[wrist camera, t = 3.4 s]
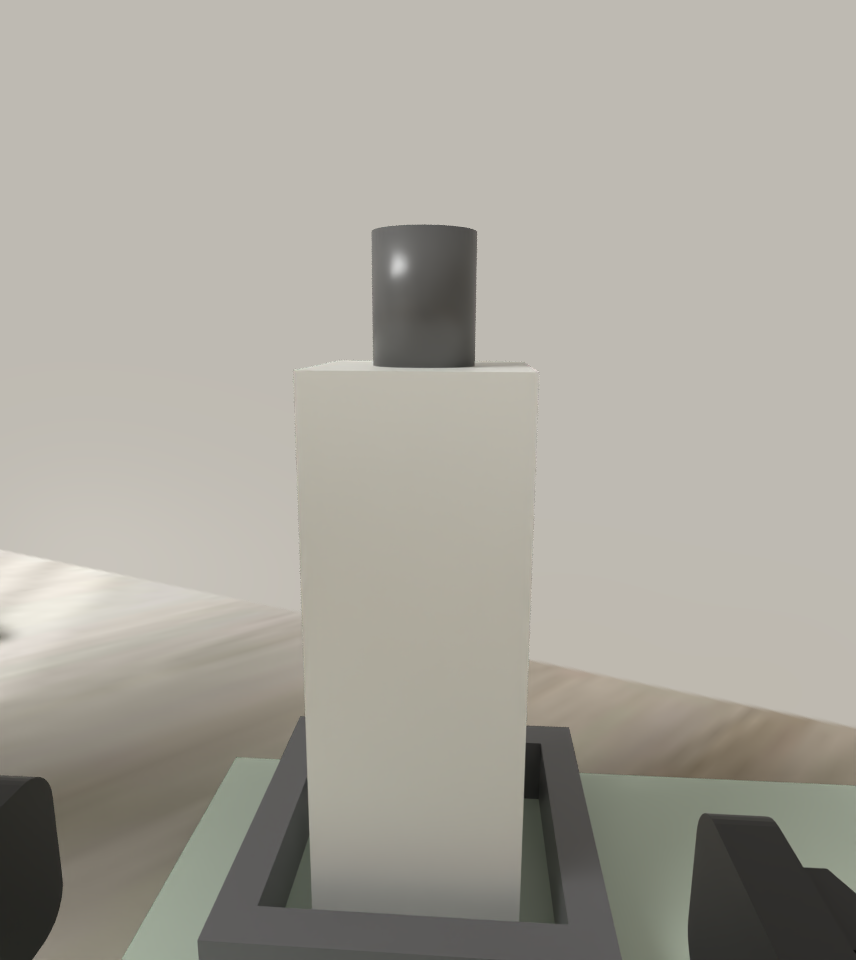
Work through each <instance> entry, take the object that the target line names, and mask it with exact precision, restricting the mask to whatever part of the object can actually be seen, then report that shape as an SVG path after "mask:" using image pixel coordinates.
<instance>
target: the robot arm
mask: <svg viewBox="0 0 856 960" xmlns="http://www.w3.org/2000/svg"><path fill="white" fill-rule="evenodd" d="M62 888H63V882H62V872H61V863H60V855H59V847H58V838H57V830H56V822H55V813H54V805H53V797H52V791H51V788H50V785H49V784H48V782H47V781H46V780H45V779H43V778H41V777H23V776H3V775H0V960H32V959H33V958H34V956H35V955H36V953H37V952H38V951H39V949H40V948H41V946H42V945H43V944H44V942H45V940H46V939H47V937H48V935H49V933H50V932H51V930H52V927H53V925H54V923H55V920H56V917H57V914H58V911H59V907H60V903H61V898H62ZM688 946H689V956H690V960H856V893H855V892H854V891H853V890H852V889H850V888H849V887H848V886H847V885H846V884H845V883H843V882H842V881H841V880H840V879H839V878H838V877H836V876H835V875H834V874H833V873H832V872H831V871H829V870H828V869H826V868H808V867H803V866H802V864H801V862H800V861H799V859H798V857H797V856H796V854H795V853H794V851H793V849H792V848H791V846H790V844H789V843H788V841H787V839H786V838H785V836H784V834H783V833H782V831H781V829H780V828H779V826H778V825H777V823H776V822H775V821H774V820H773V819H772V818H770V817H767V816H750V815H730V814H710V813H704V814H702V815H701V816H700V818H699V821H698V825H697V833H696V843H695V853H694V864H693V874H692V884H691V895H690V905H689V915H688Z"/></svg>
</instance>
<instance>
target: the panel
mask: <svg viewBox="0 0 856 960" xmlns="http://www.w3.org/2000/svg"><path fill="white" fill-rule="evenodd" d="M704 813H710V814H730V815H750V816H767V817H770V818H772V819H773V820H774V821H775V822H776V823H777V825H778V826H779V828H780V829H781V831H782V833H783V834H784V836H785V838H786V839H787V841H788V843H789V844H790V846H791V848H792V849H793V851H794V853H795V854H796V856H797V857H798V859H799V861H800V862H801V864H802V866H803V867H808V868H826V869H828V870H829V871H831V872H832V873H833V874H834V875H835V876H836V877H838V878H839V879H840V880H841V881H842V882H843V883H845V884H846V885H847V886H848V887H849V888H850V889H852V890H853V891H854V892H855V893H856V786H854V785H833V784H811V783H789V782H767V781H745V780H723V779H701V778H679V777H657V776H636V775H614V774H592V773H579V769H578V765H577V761H576V756H575V752H574V747H573V743H572V739H571V734H570V730H569V727H545V726H526V748H525V775H524V803H523V830H522V857H521V885H520V912H519V922H516V921H499V920H483V919H466V918H449V917H433V916H416V915H399V914H383V913H366V912H349V911H333V910H316V909H312V893H311V864H310V836H309V807H308V779H307V750H306V722H305V717H304V716H300V718H299V721H298V723H297V725H296V727H295V729H294V731H293V734H292V736H291V738H290V740H289V742H288V744H287V747H286V749H285V751H284V753H283V755H282V757H281V759H263V758H241V757H236V759H235V760H234V762H233V764H232V766H231V767H230V769H229V771H228V773H227V774H226V776H225V778H224V780H223V781H222V783H221V785H220V787H219V788H218V790H217V792H216V794H215V796H214V797H213V799H212V801H211V803H210V804H209V806H208V808H207V810H206V811H205V813H204V815H203V817H202V818H201V820H200V822H199V824H198V826H197V827H196V829H195V831H194V833H193V834H192V836H191V838H190V840H189V841H188V843H187V845H186V847H185V848H184V850H183V852H182V854H181V856H180V857H179V859H178V861H177V863H176V864H175V866H174V868H173V870H172V871H171V873H170V875H169V877H168V878H167V880H166V882H165V884H164V886H163V887H162V889H161V891H160V893H159V894H158V896H157V898H156V900H155V901H154V903H153V905H152V907H151V908H150V910H149V912H148V914H147V915H146V917H145V919H144V921H143V923H142V924H141V926H140V928H139V930H138V931H137V933H136V935H135V937H134V938H133V940H132V942H131V944H130V945H129V947H128V949H127V951H126V953H125V954H124V956H123V958H122V960H690V956H689V946H688V915H689V905H690V895H691V884H692V874H693V864H694V853H695V843H696V833H697V825H698V821H699V818H700V816H701V815H702V814H704Z"/></svg>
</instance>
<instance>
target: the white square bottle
mask: <svg viewBox="0 0 856 960" xmlns="http://www.w3.org/2000/svg"><path fill="white" fill-rule="evenodd" d="M476 257H477V231H476V230H473V229H470V228H465V227H456V226H445V225H399V226H388V227H382V228H377V229H374V230H372V296H373V297H372V299H373V301H372V303H373V361H359V360H357V361H356V360H339V361H334V362H330V363H325V364H320V365H316V366H312V367H307V368H302V369H297V370H293V378H294V379H293V380H294V407H295V436H296V465H297V491H298V522H299V549H300V550H299V551H300V579H301V607H302V636H303V665H304V693H305V722H306V750H307V779H308V807H309V836H310V864H311V893H312V909H316V910H333V911H349V912H366V913H383V914H399V915H416V916H433V917H449V918H466V919H483V920H499V921H516V922H519V912H520V885H521V857H522V830H523V803H524V775H525V748H526V721H527V693H528V666H529V638H530V611H531V583H532V582H531V581H532V556H533V529H534V501H535V473H536V446H537V419H538V418H537V416H538V392H539V372H538V371H536V370H535V369H534V368H532V367H531V366H529V365H528V364H526V363H525V362H496V361H495V362H493V361H475V321H476V319H475V318H476V314H475V313H476V264H477V262H476V261H477V258H476Z"/></svg>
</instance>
